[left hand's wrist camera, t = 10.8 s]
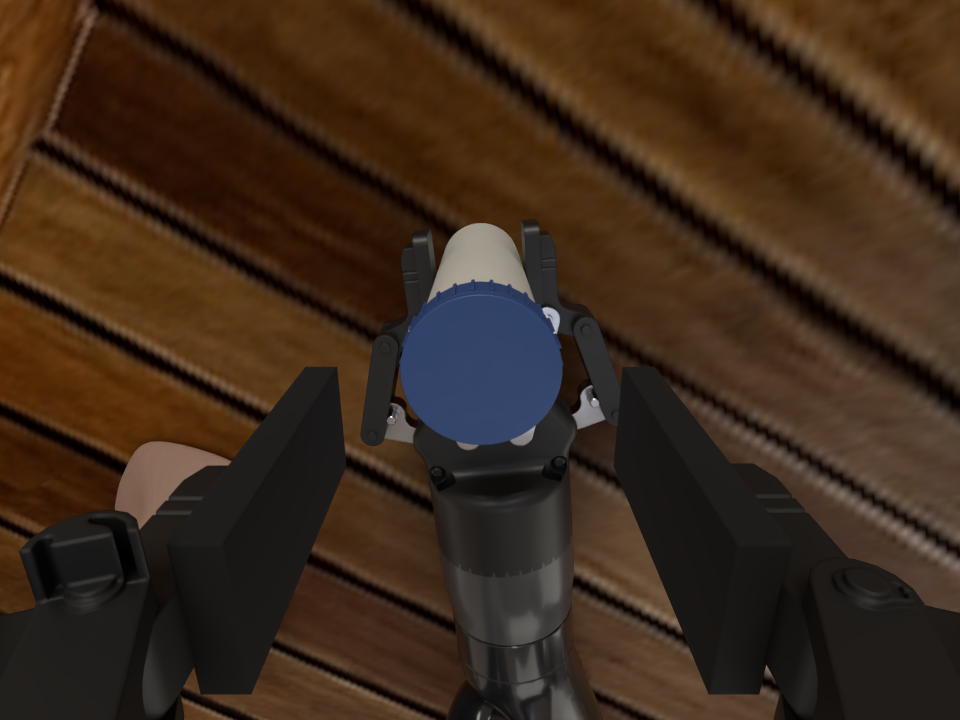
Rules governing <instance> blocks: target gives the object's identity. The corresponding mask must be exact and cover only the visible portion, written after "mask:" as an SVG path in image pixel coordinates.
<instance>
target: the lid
mask: <svg viewBox="0 0 960 720" xmlns="http://www.w3.org/2000/svg"><path fill="white" fill-rule="evenodd" d="M408 330H410V332H407V333H406V336H405V338H404V341H403V343H402V347H404V349H403V352H402V356H401V359H400V361H399V364H400V375H401V382H402V387H403V390H404V394H405V396H406V398H407V400H408V403H409V404H410V406H411V408H412V409H413V411H414V412H415V413H416V415H417V416H418V417H419V418H420V419H421V420H422V421H423V422H424V423H425V424H426V425H427V426H428V427H430V428H431V429H432V430H434V431H435V432H437V433H439V434H440V435H442V436H444V437H446V438H449V439H451V440H454V441H457V442H461V443H466V444H472V445H490V444H497V443H502V442H506V441H509V440H512V439H514V438H516V437H519V436H521V435H523V434H524V433H526V432H527V431H529V430H531V429H532V428H533V427H534V426H536V425H537V424H538V423H539V422H540V421H541V420H542V419H543V418H544V417H545V416H546V414H547V413H548V412H549V410H550V409H551V407H552V405H553V404H554V402H555V400H556V398H557V395H558V393H559V389H560V385H561V381H562V366H563V361H562V358H561V353H560V350H559V349H561V345H560V342H559V340H558V337H557V335H556V333H555V334H554V333H553V332H555V329H554V327H553V324H552V322H551V319H550V318H546V316H545V315H544V313H543V310H542V307H541V305H540V304H539V303H538V304H537V305H536V303H535V302H533V301H532V300H531V299H530V298H529V297H528V294H527V293H526V292H524V293H521V292H520V291H518V290H516V289H514V288H512V286H511V284H508V285H507V286H506V285H503V284H499V283H494V281H493V280H491V279H490V282H482V281H479V282H475V279H472V280H471V282H469V283H464V284H459V285H457V283H455V284H453V287H451V288H449V289H447V290H445V291H443V292H440V291H438V292H437V293H436V296H435V297H434V298H433V299H432V300H430V301H429V302H428V303H426V302H424V304H423V306H422V308H421V311H420V312H419V314H418V316H417V317H416V316H414V317H413V319H412V321H411V324H410V327H409V329H408Z"/></svg>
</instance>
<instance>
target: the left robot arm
mask: <svg viewBox="0 0 960 720" xmlns="http://www.w3.org/2000/svg"><path fill="white" fill-rule="evenodd" d="M345 468H346V458H345V447H344V436H343V425H342V414H341V404H340V393H339V382H338V371H337V367H305V368H304V370H303V371H302V372H301V373H300V375H299V376H298V377H297V379H296V380H295V381H294V382H293V384H292V385H291V386H290V387H289V389H288V390H287V391H286V393H285V394H284V395H283V396H282V398H281V399H280V400H279V401H278V403H277V404H276V405H275V407H274V408H273V409H272V410H271V412H270V413H269V414H268V415H267V417H266V418H265V419H264V421H263V422H262V423H261V424H260V426H259V427H258V428H257V429H256V431H255V432H254V433H253V435H252V436H251V437H250V438H249V440H248V441H247V442H246V443H245V445H244V446H243V447H242V449H241V450H240V451H239V452H238V454H237V455H236V456H235V457H234V459H233V460H232V461H231V463H230V464H229V465H207V466H205V467H204V468H202V469H201V470H199V471H197V472H196V473H194V474H192V475H191V476H189V477H188V478H186V479H184V480H183V481H182V482H181V483H180V485H179V486H178V487H177V488H176V489H175V490H174V491H173V492H172V494H171V495H170V496H169V497H168V498H169V499H168V500H165V502H164V503H163V504H162V505H161V506H160V507H159V508H158V509H157V511H156V515H152V516H151V517H150V518H149V520H148V521H147V522H146V523H145V524H144V525H143V526H142V528H141V529H140V530H139V526H138V522H137V519H136V518H135V517H133V516H132V515H131V514H129V513H128V512H123V511H117V510H104V511H92V512H89V513H85V514H81V515H77V516H73V517H70V518H68V519H65V520H63V521H61V522H58V523H56V524H54V525H51V526H49V527H47V528H46V529H44V530H43V531H41V532H40V533H38V534H37V535H35V536H34V537H32V538H31V539H30V540H29V541H28V542H27V543H26V544H25V545H24V546H23V548H22V549H21V550H20V551H19V553H20V556H21V559H22V562H23V565H24V568H25V571H26V574H27V577H28V580H29V582H30V585H31V588H32V591H33V594H34V597H35V600H36V603H37V604H36V606H35V608H32V609H29V610H24V611H20V612H15V613H11V614H6V615H1V616H0V720H184V711H183V704H182V699H181V695H180V691H181V690H182V688H183V686H184V684H185V682H186V680H187V679H188V677H189V675H190V673H191V671H192V669H193V668H194V667H195V672H196V676H197V680H198V685H199V689H200V693H201V694H252V691H253V689H254V686H255V684H256V682H257V679H258V677H259V674H260V672H261V670H262V667H263V665H264V662H265V660H266V658H267V655H268V653H269V650H270V648H271V646H272V643H273V641H274V638H275V636H276V634H277V631H278V629H279V626H280V624H281V622H282V619H283V617H284V614H285V612H286V610H287V607H288V605H289V602H290V600H291V598H292V595H293V593H294V590H295V588H296V586H297V583H298V581H299V578H300V576H301V574H302V571H303V569H304V566H305V564H306V562H307V559H308V557H309V554H310V552H311V550H312V547H313V545H314V542H315V540H316V538H317V535H318V533H319V530H320V528H321V526H322V523H323V521H324V518H325V516H326V514H327V511H328V509H329V506H330V504H331V502H332V499H333V497H334V494H335V492H336V490H337V487H338V485H339V482H340V480H341V478H342V475H343V473H344V470H345ZM614 468H615V470H616V473H617V475H618V478H619V480H620V482H621V485H622V487H623V490H624V492H625V494H626V497H627V499H628V502H629V504H630V506H631V509H632V511H633V514H634V516H635V518H636V521H637V523H638V526H639V528H640V530H641V533H642V535H643V538H644V540H645V542H646V545H647V547H648V550H649V552H650V554H651V557H652V559H653V562H654V564H655V566H656V569H657V571H658V574H659V576H660V578H661V581H662V583H663V586H664V588H665V590H666V593H667V595H668V598H669V600H670V602H671V605H672V607H673V610H674V612H675V614H676V617H677V619H678V622H679V624H680V626H681V629H682V631H683V634H684V636H685V638H686V641H687V643H688V646H689V648H690V650H691V653H692V655H693V658H694V660H695V662H696V665H697V667H698V670H699V672H700V674H701V677H702V679H703V682H704V684H705V686H706V689H707V691H708V694H759V693H760V689H761V685H762V680H763V676H764V672H765V667H766V665H767V666H768V668H769V670H770V672H771V674H772V676H773V677H774V679H775V681H776V683H777V685H778V686H779V688H780V690H781V691H780V695H779V699H778V703H777V708H776V712H775V716H774V720H960V613H957V612H952V611H948V610H943V609H939V608H934V607H930V606H926V605H924V603H923V601H922V600H921V599H920V597H919V596H918V595H917V593H916V592H915V591H914V589H913V588H911V587H910V586H909V585H908V584H906V583H905V582H904V581H902V580H901V579H900V578H898V577H897V576H896V575H894V574H892V573H890V572H888V571H886V570H884V569H882V568H880V567H878V566H876V565H872V564H869V563H866V562H862V561H859V560H856V559H849V558H848V557H847V556H846V555H845V554H844V553H843V552H842V551H841V550H840V548H839V547H838V546H837V545H836V544H835V543H834V542H833V541H832V539H831V538H830V537H829V536H828V535H827V534H826V533H825V532H824V530H823V529H822V528H821V527H820V526H819V525H818V524H817V523H816V521H815V520H814V519H813V518H812V517H811V516H810V515H809V514H808V513H805V509H804V508H803V507H802V506H801V505H800V503H799V502H798V501H797V500H796V499H795V498H792V495H791V493H790V492H789V491H788V490H787V489H786V488H785V487H784V486H783V484H782V483H781V482H780V481H779V480H778V479H777V478H776V477H774V476H773V475H771V474H769V473H768V472H766V471H764V470H763V469H761V468H760V467H758V466H756V465H755V464H730V463H729V461H728V460H727V459H726V457H725V456H724V455H723V454H722V452H721V451H720V450H719V449H718V447H717V446H716V445H715V443H714V442H713V441H712V440H711V438H710V437H709V436H708V435H707V433H706V432H705V431H704V429H703V428H702V427H701V426H700V424H699V423H698V422H697V421H696V419H695V418H694V417H693V415H692V414H691V413H690V412H689V410H688V409H687V408H686V407H685V405H684V404H683V403H682V401H681V400H680V399H679V398H678V396H677V395H676V394H675V393H674V391H673V390H672V389H671V387H670V386H669V385H668V384H667V382H666V381H665V380H664V379H663V377H662V376H661V375H660V373H659V372H658V371H657V370H656V368H655V367H623V371H622V382H621V393H620V404H619V414H618V425H617V436H616V447H615V457H614Z"/></svg>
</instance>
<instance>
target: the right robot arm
mask: <svg viewBox="0 0 960 720" xmlns="http://www.w3.org/2000/svg"><path fill="white" fill-rule="evenodd" d="M521 235H522V249H523V263H524V272H525V275H526V278H527V281H528V283H529V286H530V289H531V292H532V295H533V298H534V301H535V303H536V305H537V304H538V303H539V304H540V305H541V307H542V310H543V313H544V315H545V316H546V318H550V319H551V322H552V324H553V327H554V329H555V332H553V333H554V334H555V333H556V334H557V333H561V334H565V335H569V336H573V338H574V341H575V343H576V346H577V349H578V351H579V354H580V357H581V360H582V362H583V365H584V368H585V370H586V373H587V376H588V378H589V379H587V380H584V381H583V382H581V383H580V384H579V386H578V390H577V392H578V400H577V402H576V403H575V404H574V405H573V406H571V407H569V406H568V405H567V404H566V403H565V401H564V400H563V399H562V398H561V397H560V396H559V395H557V398H556V400H555V402H554V404H553V405H552V407H551V409H550V410H549V412H548V413H547V414H546V416H545V417H544V418H543V419H542V420H541V421H540V422H539V423H538V424H537V425H536V426H534V427H533V428H532V429H531V430H529V431H527V432H526V433H524V434H523V435H521V436H519V437H516V438H514V439H512V440H509V441H506V442H502V443H497V444H490V445H472V444H466V443H461V442H457V441H454V440H451V439H449V438H446V437H444V436H442V435H440V434H439V433H437V432H435V431H434V430H432V429H431V428H430V427H428V426H427V425H426V424H425V423H424V422H423V421H422V420H421V419H420V418H419V419H418V420H414V419H413V418H411V417H410V416H409V414H408V412H407V404H406V402H405V401H404V400H403V399H402V398H400V397H396V396H395V390H396V384H397V377H398V371H399V365H400V364H399V361H400V359H401V352H402V351H403V349H404V347H402V343H403V341H404V338H405V336H406V333H407V332H410V330H408V329H409V327H410V324H411V321H412V319H413V317H414V316H416V317H417V316H418V314H419V312H420V311H421V308H422V306H423V304H424V302H426V303H427V302H428V299H429V296H430V293H431V290H432V287H433V284H434V281H435V278H436V275H437V273H436V266H435V258H434V250H433V242H432V234H431V230H430V229H425V230H416V231H415V232H414V233H413V235H412V242H413V243H412V244H407V245H406V246H405V247H404V249H403V253H402V257H401V267H402V272H403V280H404V287H405V294H406V301H407V307H408V314H407V315H406V316H404V317H402V318H400V319H398V320H396V321H388V322H386V323H385V324H384V325H383V326H382V328H381V330H380V334H379V335H378V336H377V337H376V339H375V341H374V343H373V348H372V355H371V362H370V369H369V377H368V384H367V391H366V398H365V405H364V412H363V420H362V427H361V439H362V441H363V442H364V443H365V444H367V445H370V446H377V445H379V444H381V443H382V442H383V440H384V439H390V440H396V441H401V442H407V443H413V444H414V447H415V449H416V451H417V452H418V454H419V455H420V456H421V457H422V458H423V460H424V462H425V464H426V466H427V470H428V476H429V483H430V490H431V496H432V503H433V510H434V517H435V523H436V530H437V537H438V544H439V551H440V557H441V564H442V570H443V577H444V582H445V586H446V589H447V592H448V595H449V598H450V601H451V604H452V609H453V615H454V622H455V629H456V636H457V642H458V650H459V656H460V661H461V665H462V668H463V671H464V674H465V677H466V680H465V681H464V683H463V684H462V685H461V687H460V688H459V690H458V691H457V693H456V695H455V698H454V700H453V702H452V704H451V707H450V709H449V712H448V715H447V717H446V720H603V719H602V715H601V712H600V709H599V706H598V703H597V700H596V698H595V695H594V693H593V690H592V688H591V686H590V683H589V681H588V678H587V676H586V673H585V671H584V668H583V665H582V663H581V660H580V658H579V656H578V653H577V651H576V649H575V647H574V644H573V622H572V603H571V592H572V584H573V575H574V556H573V537H572V515H571V494H570V474H569V451H570V448H571V445H572V443H573V442H574V440H575V438H576V436H577V431H578V429H580V428H583V427H586V426H589V425H592V424H595V423H597V422H600V421H603V420H606V421H607V423H609V424H610V425H613V426H617V425H618V414H619V404H620V393H621V388H620V385H619V382H618V380H617V377H616V374H615V371H614V368H613V365H612V363H611V360H610V357H609V354H608V351H607V348H606V345H605V343H604V340H603V337H602V334H601V331H600V328H599V326H598V323H597V322H596V320H595V319H594V317H593V316H592V314H591V312H590V311H589V309H588V308H587V307H586V306H584V305H582V304H575V305H573V304H570V303H566V302H563V301H561V300H560V299H559V298H558V292H557V272H556V252H555V244H554V242H553V240H552V238H551V236H550V234H549V233H548V232H547V231H539V224H538V222H537V220H536V219H530V220H521Z"/></svg>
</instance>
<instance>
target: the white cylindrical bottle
mask: <svg viewBox="0 0 960 720" xmlns="http://www.w3.org/2000/svg"><path fill="white" fill-rule="evenodd" d="M472 279H475V282H479V281H482V282H490V279H491V280H493V281H494V283H499V284H503V285H506V286H507V285H508V284H511V286H512V288H514V289H516V290H518V291H520V292H521V293H524V292H526V293H527V294H528V297H529V298H530V299H531V300H532V301H533V302H535V301H534V298H533V295H532V292H531V289H530V286H529V283H528V281H527V278H526V275H525V272H524V269H523V266H522V263H521V260H520V257H519V254H518V252H517V249H516V246H515V244H514V242H513V240H512V239H511V238H510V236H509V235H508V234H507V233H506V232H504V231H503V230H502V229H500V228H498V227H496V226H494V225H491V224H486V223H477V224H471V225H468V226H466V227H464V228H462V229H460V230H459V231H458V232H456V233H455V234H454V235H453V236H452V238H451V239H450V241H449V242H448V244H447V246H446V249H445V252H444V255H443V258H442V261H441V264H440V266H439V269H438V272H437V275H436V278H435V281H434V284H433V287H432V290H431V293H430V296H429V299H428V302H429V301H430V300H432V299H433V298H434V297H435V296H436V293H437V292H438V291H440V292H443V291H445V290H447V289H449V288H451V287H453V284H455V283H457V285H459V284H464V283H469V282H471V280H472ZM428 302H427V303H428Z"/></svg>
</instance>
